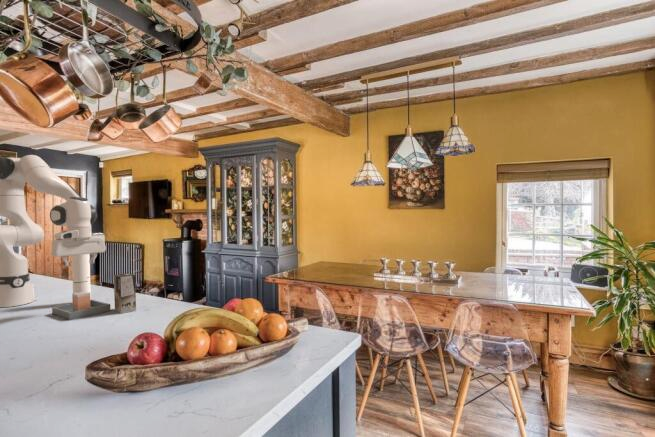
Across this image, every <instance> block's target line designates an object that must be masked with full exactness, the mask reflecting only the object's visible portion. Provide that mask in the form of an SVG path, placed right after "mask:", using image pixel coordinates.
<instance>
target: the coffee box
mask: <svg viewBox="0 0 655 437" xmlns="http://www.w3.org/2000/svg"><path fill="white" fill-rule="evenodd" d="M136 286H137V285H136V274H133V273H129V272H126V273H120V274H114V275H113V290H114V291H113V292H114V311H116V312H118V313H120V314H125V313H129V312H131V313H132V312H135V311H137V303H136V302H137V298H136V297H137V295H136V290H137V288H136Z"/></svg>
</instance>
